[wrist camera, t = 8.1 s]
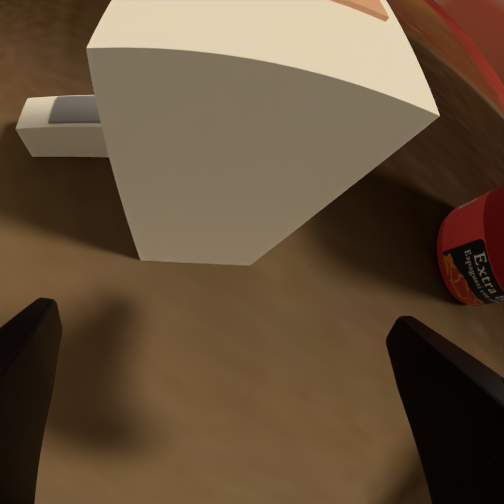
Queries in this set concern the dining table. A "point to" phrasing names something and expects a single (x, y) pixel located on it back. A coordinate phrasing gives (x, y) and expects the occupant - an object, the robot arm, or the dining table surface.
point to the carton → (247, 115)
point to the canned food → (474, 249)
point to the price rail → (62, 127)
